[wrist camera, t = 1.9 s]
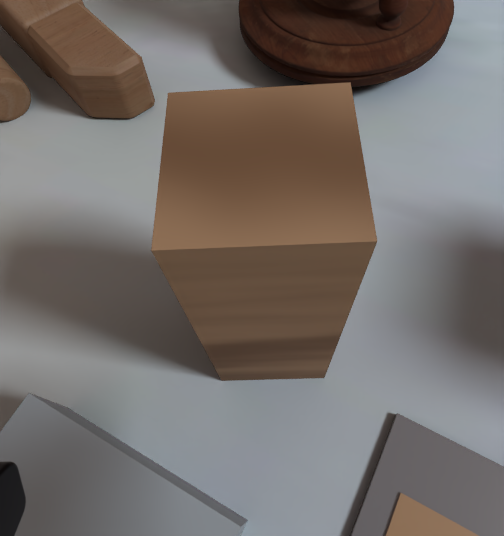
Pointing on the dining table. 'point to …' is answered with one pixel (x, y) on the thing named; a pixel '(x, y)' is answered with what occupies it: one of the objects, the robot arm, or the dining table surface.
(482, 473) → the card
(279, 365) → the walnut column
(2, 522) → the robot arm
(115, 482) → the slate block
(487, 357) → the dining table surface
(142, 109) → the wooden block set
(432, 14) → the scroll
